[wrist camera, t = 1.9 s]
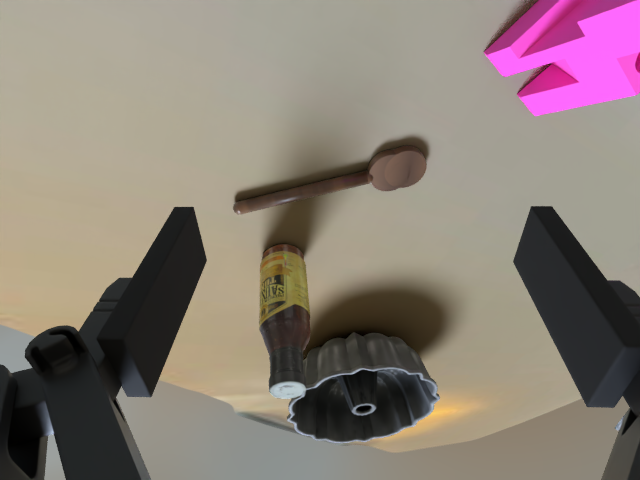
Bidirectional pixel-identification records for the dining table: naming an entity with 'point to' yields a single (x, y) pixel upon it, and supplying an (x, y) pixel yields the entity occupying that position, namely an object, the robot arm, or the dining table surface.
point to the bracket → (573, 52)
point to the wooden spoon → (352, 179)
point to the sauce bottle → (284, 318)
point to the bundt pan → (362, 389)
